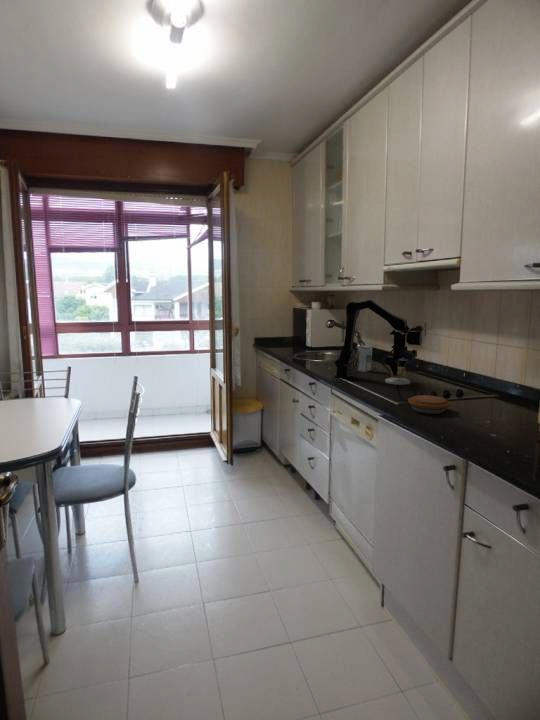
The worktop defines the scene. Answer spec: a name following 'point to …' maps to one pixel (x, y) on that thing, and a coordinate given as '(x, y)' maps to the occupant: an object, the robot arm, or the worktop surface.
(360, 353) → the syrup box
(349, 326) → the robot arm
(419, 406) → the pie
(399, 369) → the beech block
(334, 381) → the worktop surface
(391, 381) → the saucer
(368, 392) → the worktop surface
